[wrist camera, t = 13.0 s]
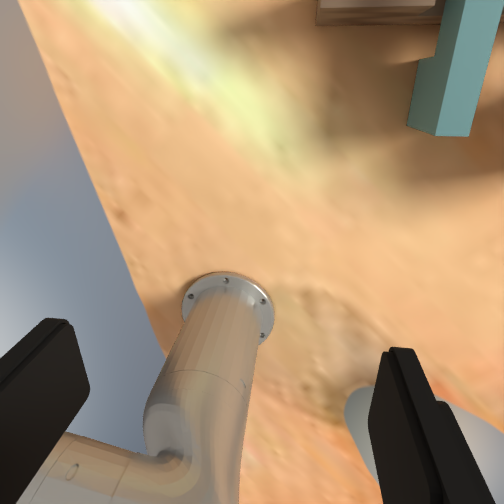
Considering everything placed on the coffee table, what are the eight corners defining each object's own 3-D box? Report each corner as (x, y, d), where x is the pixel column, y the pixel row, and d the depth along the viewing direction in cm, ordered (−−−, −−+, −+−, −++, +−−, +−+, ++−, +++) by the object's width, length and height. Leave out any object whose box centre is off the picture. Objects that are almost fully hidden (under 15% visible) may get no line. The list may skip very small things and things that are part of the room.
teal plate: (453, -123, 26) (511, -201, 19) (488, -125, 26) (559, -205, 19) (406, 125, 34) (435, 135, 27) (432, 126, 34) (468, 136, 27)
